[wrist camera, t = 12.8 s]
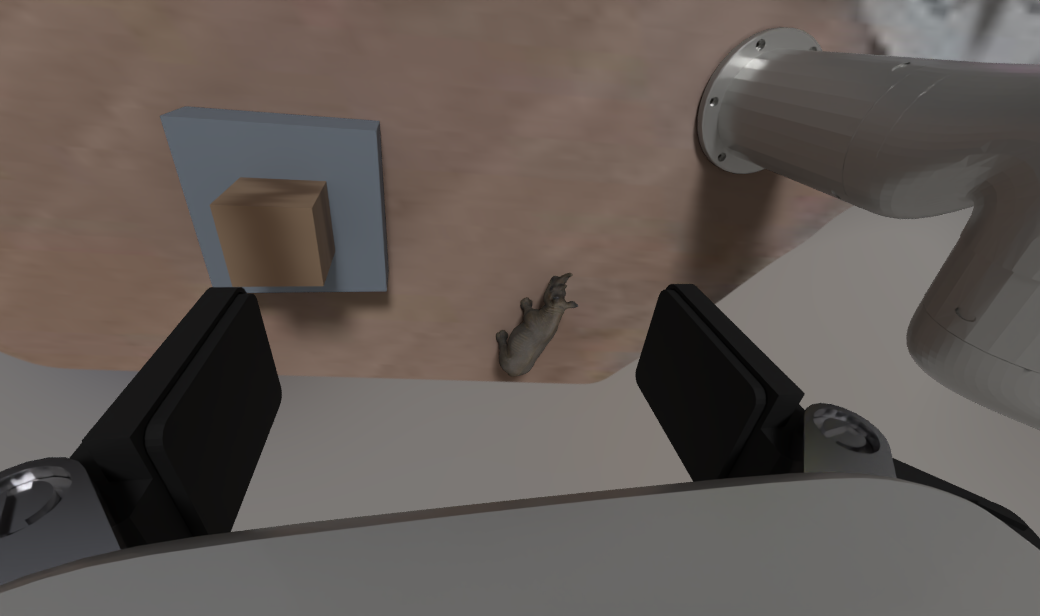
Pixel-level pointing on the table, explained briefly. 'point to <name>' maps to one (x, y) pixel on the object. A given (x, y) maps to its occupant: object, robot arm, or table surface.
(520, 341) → the rhino figurine
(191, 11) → the table surface
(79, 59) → the table surface
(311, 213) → the walnut cube
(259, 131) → the pedestal
